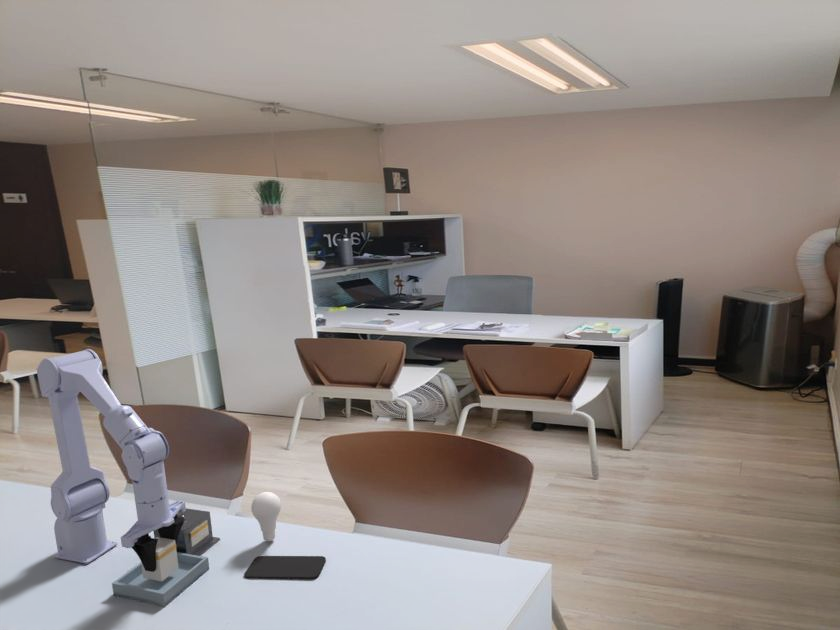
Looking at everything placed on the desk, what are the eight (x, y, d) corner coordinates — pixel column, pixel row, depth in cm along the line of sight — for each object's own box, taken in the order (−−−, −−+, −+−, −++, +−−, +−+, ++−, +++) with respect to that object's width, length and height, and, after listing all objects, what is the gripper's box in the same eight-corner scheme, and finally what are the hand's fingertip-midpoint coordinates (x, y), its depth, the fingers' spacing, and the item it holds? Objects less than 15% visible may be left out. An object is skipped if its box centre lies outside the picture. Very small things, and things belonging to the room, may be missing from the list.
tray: (113, 595, 115) (111, 583, 115) (160, 560, 126) (159, 548, 126) (165, 606, 111) (163, 594, 111) (209, 568, 122) (208, 557, 122)
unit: (149, 558, 127) (144, 524, 126) (183, 533, 137) (179, 502, 135) (188, 565, 124) (184, 530, 123) (220, 540, 133) (216, 507, 132)
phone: (256, 555, 126) (327, 555, 124) (256, 559, 126) (327, 559, 124) (241, 576, 118) (317, 577, 117) (242, 580, 119) (317, 581, 117)
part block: (142, 577, 117) (138, 549, 116) (160, 564, 121) (156, 536, 120) (162, 581, 116) (158, 552, 115) (179, 568, 120) (175, 539, 119)
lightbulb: (276, 549, 128) (272, 500, 126) (250, 547, 129) (244, 499, 128) (288, 534, 134) (284, 487, 132) (263, 532, 135) (258, 486, 133)
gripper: (138, 517, 108) (148, 588, 110) (194, 482, 121) (202, 545, 123) (108, 513, 110) (118, 581, 112) (166, 479, 124) (174, 541, 126)
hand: (160, 562), depth 118 cm, fingers closed on part block, 4 cm apart
